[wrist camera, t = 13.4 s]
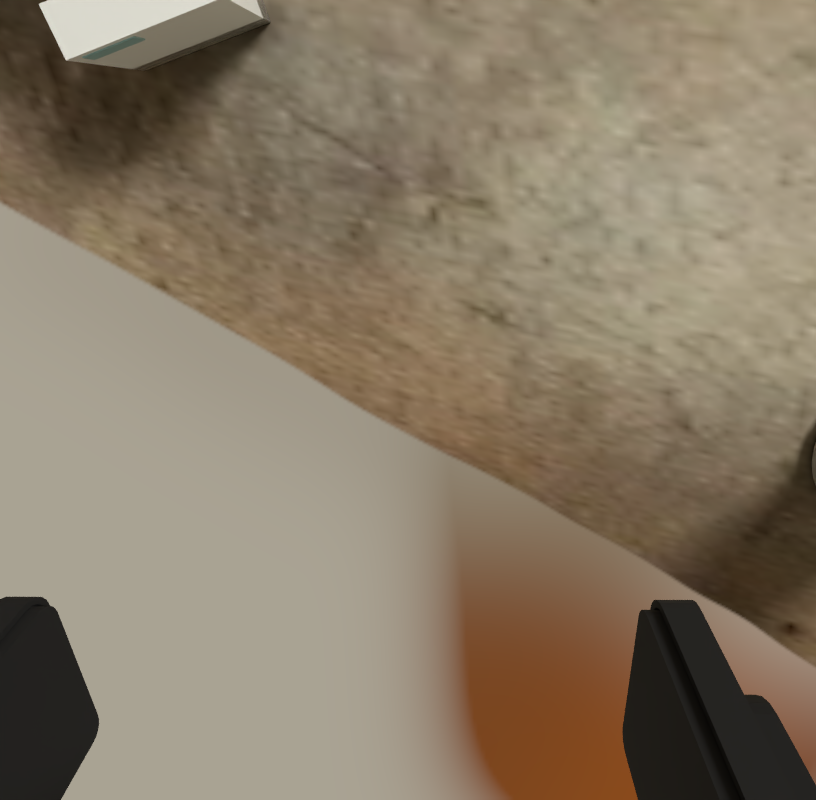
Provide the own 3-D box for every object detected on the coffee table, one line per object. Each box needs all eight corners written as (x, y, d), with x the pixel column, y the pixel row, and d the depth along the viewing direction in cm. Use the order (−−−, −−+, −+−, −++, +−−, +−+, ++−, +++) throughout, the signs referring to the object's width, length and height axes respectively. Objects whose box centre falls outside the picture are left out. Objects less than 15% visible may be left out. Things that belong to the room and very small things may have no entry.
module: (263, 19, 28) (224, -2, 23) (132, 70, 30) (66, 61, 24) (245, -32, 28) (200, -67, 22) (111, 22, 29) (38, 2, 23)
